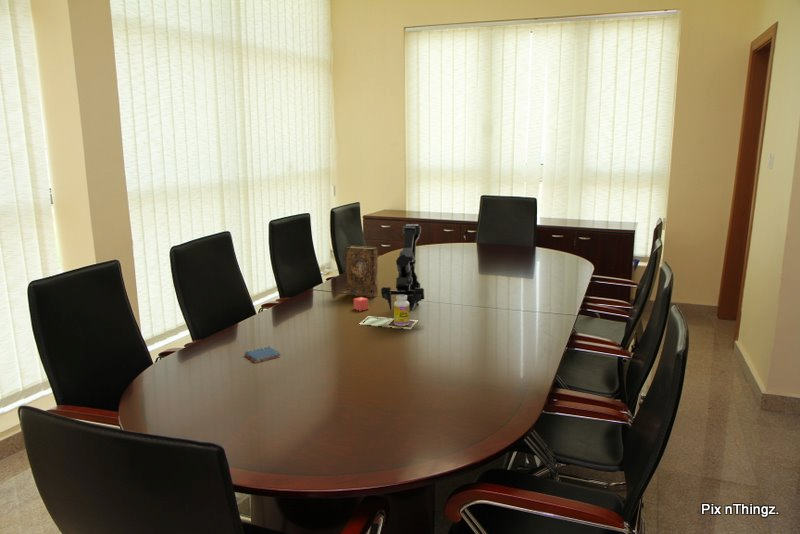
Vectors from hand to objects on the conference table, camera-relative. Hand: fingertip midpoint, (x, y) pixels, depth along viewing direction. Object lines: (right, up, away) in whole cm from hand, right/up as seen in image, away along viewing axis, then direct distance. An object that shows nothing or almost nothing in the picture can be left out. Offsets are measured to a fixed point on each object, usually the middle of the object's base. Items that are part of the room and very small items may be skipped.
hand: (401, 310), depth 262 cm
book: (-20, +4, +52) cm, 56 cm away
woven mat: (-52, -15, -35) cm, 64 cm away
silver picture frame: (-5, -6, +4) cm, 9 cm away
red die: (-19, -1, +26) cm, 32 cm away
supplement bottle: (0, -7, +3) cm, 7 cm away
